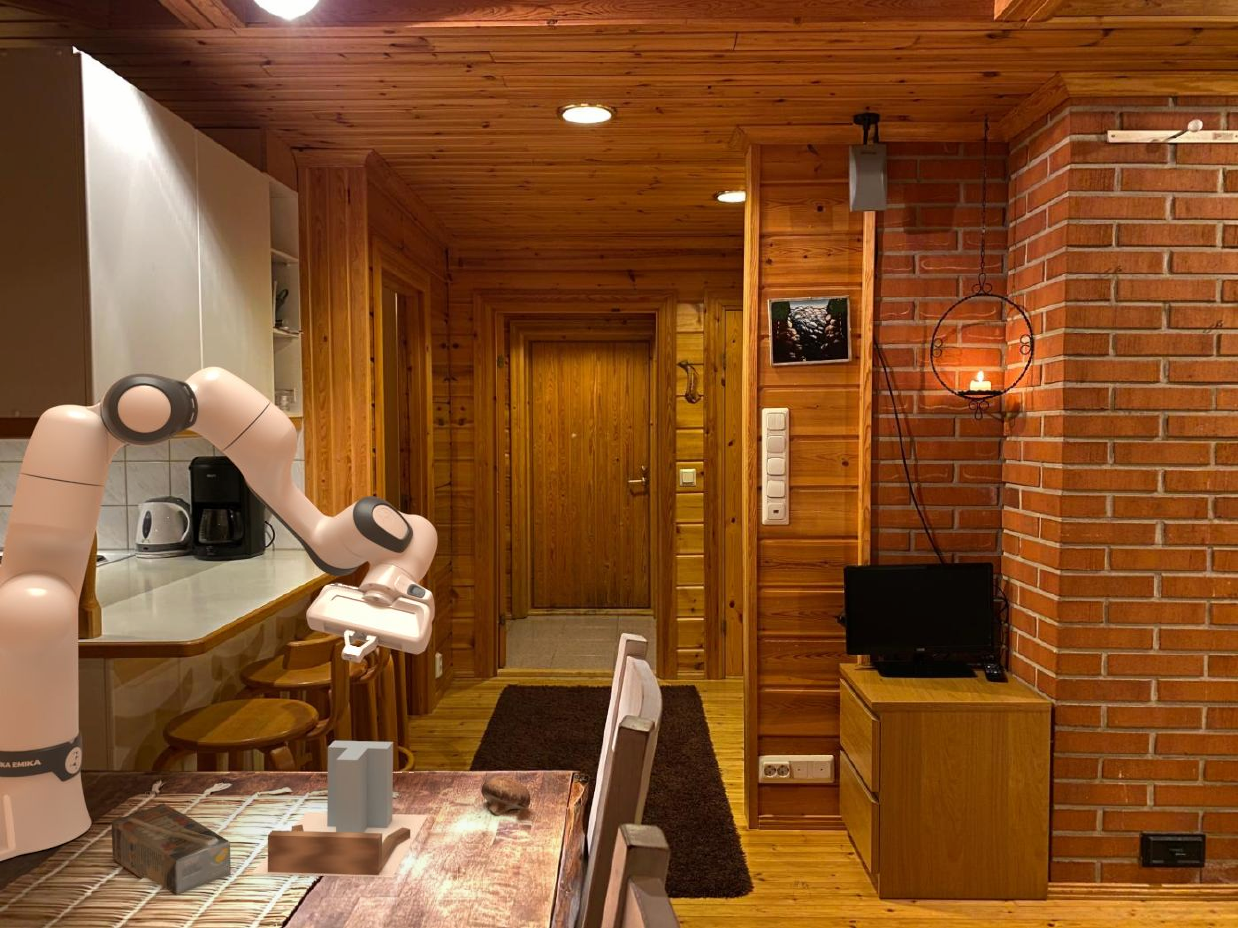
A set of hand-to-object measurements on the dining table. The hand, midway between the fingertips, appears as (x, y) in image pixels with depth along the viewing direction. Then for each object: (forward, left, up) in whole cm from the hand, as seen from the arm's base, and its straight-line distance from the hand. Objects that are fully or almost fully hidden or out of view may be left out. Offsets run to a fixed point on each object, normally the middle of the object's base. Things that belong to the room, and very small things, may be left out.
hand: (350, 658), depth 144 cm
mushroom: (+25, +1, -25) cm, 35 cm away
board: (+4, -13, -24) cm, 28 cm away
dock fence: (+4, -17, -23) cm, 29 cm away
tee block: (+4, -9, -23) cm, 25 cm away
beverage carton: (-18, -21, -25) cm, 37 cm away
